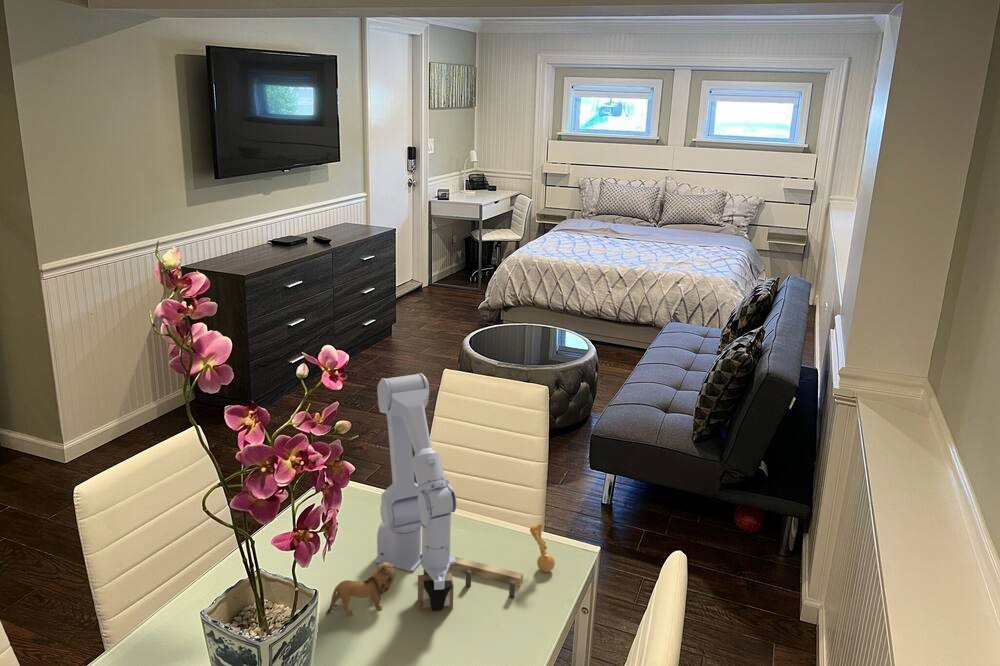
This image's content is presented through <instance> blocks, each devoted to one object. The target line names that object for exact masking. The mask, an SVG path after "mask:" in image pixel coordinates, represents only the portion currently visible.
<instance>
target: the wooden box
mask: <svg viewBox="0 0 1000 666" xmlns="http://www.w3.org/2000/svg"><path fill="white" fill-rule="evenodd" d="M426 580H432V578H431V577H430V576H429V575H424V574H418V575H417V605H418V612H431V611H432V608H431V604H430V598H429V595H428V593H427V592H426V590H425V588H424V581H426ZM450 580H452V588H451V590H450V591H449V593H448V594H447V597H446V599H445V603H444V607H443V610H453V609H454V585H455V584H454V580H453V574H452V572H447V574H446V577H445V581H450ZM443 610H442V611H443ZM432 612H433V611H432Z"/></svg>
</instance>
